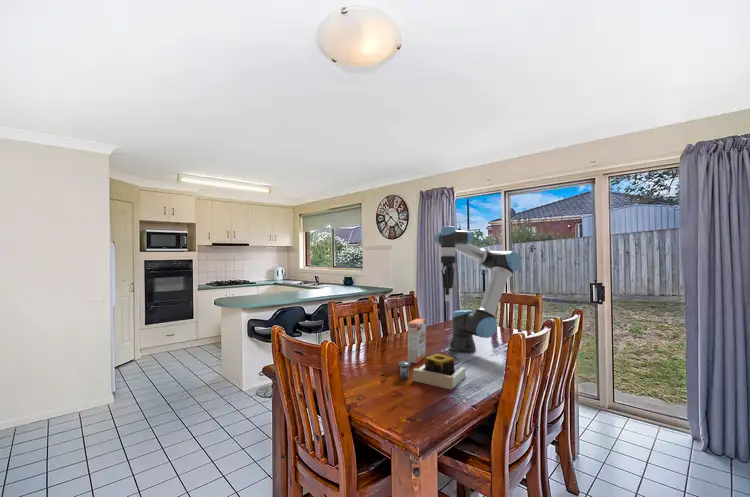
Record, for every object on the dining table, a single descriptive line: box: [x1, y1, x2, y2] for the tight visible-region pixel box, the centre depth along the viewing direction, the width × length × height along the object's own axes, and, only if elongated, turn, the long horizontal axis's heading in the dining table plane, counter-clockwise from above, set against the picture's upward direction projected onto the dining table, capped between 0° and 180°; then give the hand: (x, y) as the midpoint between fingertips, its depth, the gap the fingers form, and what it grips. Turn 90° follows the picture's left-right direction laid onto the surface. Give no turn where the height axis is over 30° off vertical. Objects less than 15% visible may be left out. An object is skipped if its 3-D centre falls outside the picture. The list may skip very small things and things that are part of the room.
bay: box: [412, 364, 466, 390], centre depth 159 cm, size 18×18×5 cm
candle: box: [424, 353, 456, 376], centre depth 158 cm, size 10×10×10 cm
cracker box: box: [407, 318, 427, 364], centre depth 186 cm, size 14×6×21 cm, turn 154°
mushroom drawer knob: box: [398, 360, 412, 380], centre depth 160 cm, size 6×6×7 cm
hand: (448, 300), depth 181 cm, fingers closed
